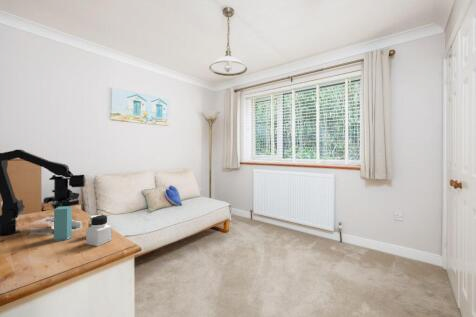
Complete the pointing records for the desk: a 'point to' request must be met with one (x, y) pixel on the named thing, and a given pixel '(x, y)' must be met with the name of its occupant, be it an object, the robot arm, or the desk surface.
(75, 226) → the white channel beam
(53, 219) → the cover
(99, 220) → the medicine bottle
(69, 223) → the teal box
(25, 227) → the desk surface
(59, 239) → the coaster
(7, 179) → the robot arm
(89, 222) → the supplement bottle
